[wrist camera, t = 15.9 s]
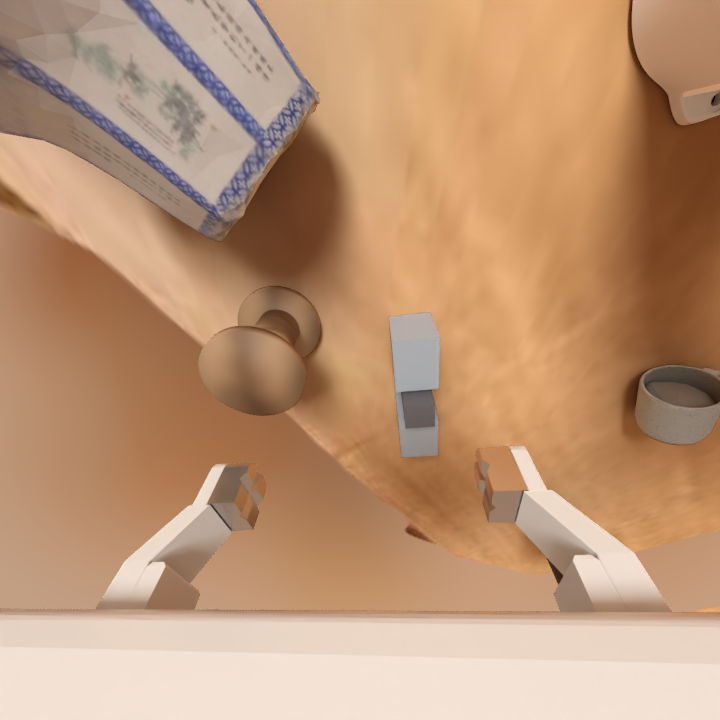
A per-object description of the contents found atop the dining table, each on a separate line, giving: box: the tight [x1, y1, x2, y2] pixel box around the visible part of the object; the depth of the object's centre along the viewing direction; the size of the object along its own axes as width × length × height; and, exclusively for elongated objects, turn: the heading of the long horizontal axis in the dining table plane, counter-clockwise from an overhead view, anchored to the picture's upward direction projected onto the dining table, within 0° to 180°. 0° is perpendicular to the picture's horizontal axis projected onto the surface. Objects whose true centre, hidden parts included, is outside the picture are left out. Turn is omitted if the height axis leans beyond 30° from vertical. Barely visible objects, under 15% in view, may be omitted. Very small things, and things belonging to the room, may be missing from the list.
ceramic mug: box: [635, 365, 720, 445], centre depth 38 cm, size 11×8×8 cm
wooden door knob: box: [198, 286, 321, 416], centre depth 33 cm, size 10×10×11 cm
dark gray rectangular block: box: [401, 389, 435, 429], centre depth 38 cm, size 4×4×7 cm
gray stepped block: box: [389, 312, 440, 458], centre depth 39 cm, size 5×19×6 cm, turn 7°
